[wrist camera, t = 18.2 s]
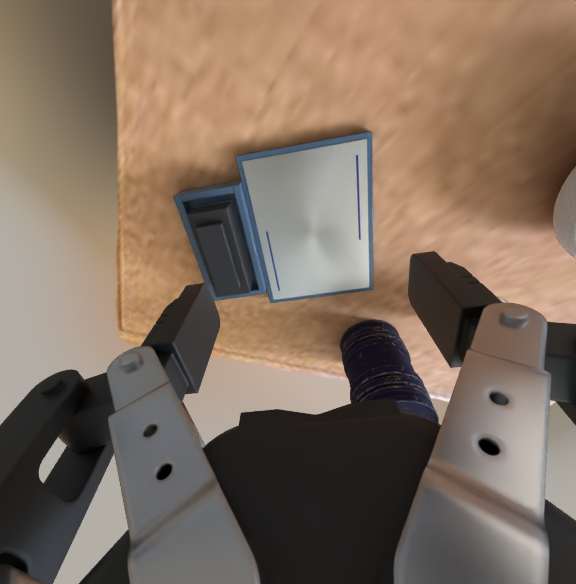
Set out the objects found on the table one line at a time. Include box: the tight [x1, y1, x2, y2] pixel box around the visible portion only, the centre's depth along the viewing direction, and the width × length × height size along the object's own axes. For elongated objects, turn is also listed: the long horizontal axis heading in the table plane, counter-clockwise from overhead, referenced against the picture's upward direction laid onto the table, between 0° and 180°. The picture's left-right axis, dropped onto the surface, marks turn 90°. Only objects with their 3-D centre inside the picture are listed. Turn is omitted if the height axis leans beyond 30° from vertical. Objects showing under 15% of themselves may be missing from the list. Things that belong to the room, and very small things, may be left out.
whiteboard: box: [236, 131, 373, 303], centre depth 37 cm, size 20×15×1 cm
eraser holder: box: [173, 181, 267, 301], centre depth 37 cm, size 15×8×3 cm, turn 9°
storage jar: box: [340, 320, 439, 424], centre depth 41 cm, size 10×10×15 cm
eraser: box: [187, 199, 253, 297], centre depth 35 cm, size 11×5×5 cm, turn 10°
